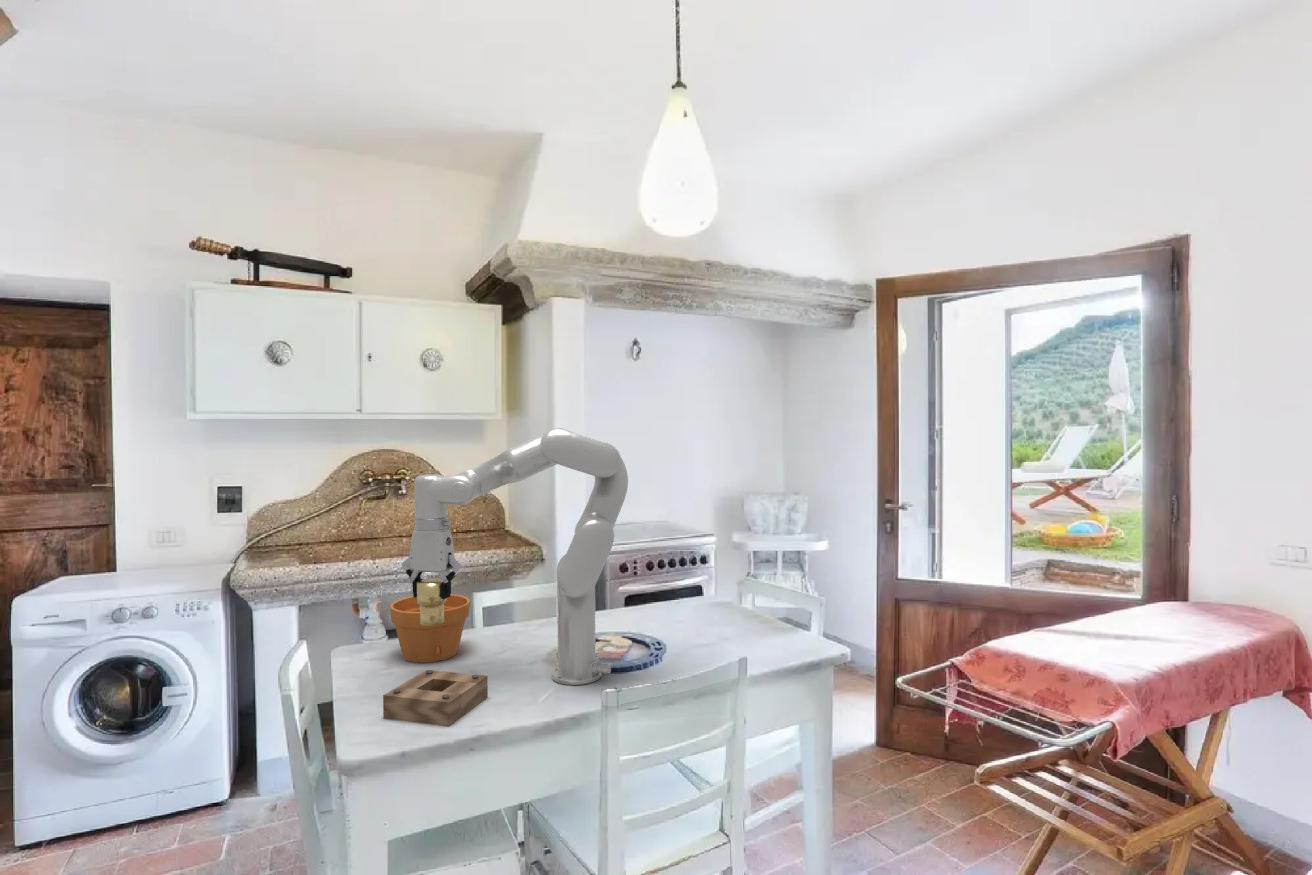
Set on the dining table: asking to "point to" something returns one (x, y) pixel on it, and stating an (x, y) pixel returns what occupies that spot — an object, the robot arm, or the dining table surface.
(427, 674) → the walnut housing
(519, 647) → the dining table surface
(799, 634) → the dining table surface
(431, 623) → the yellow translucent cylinder
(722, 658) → the dining table surface
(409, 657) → the flower pot
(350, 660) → the dining table surface
